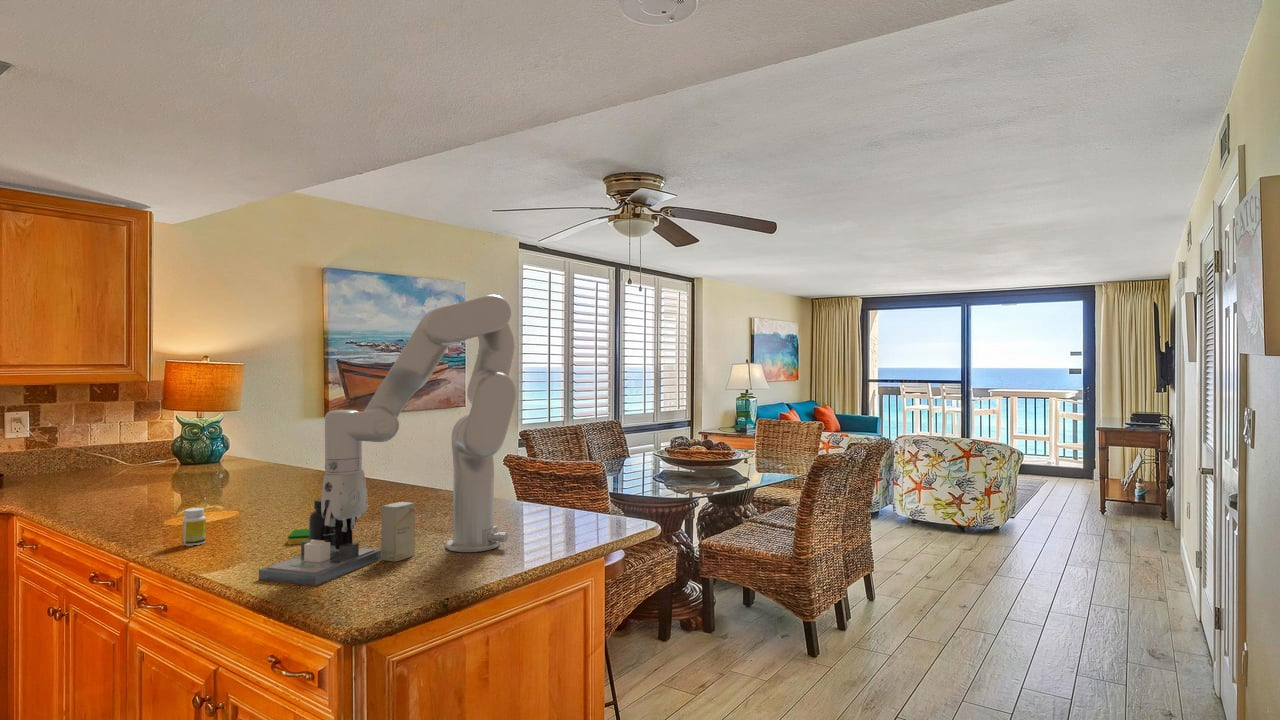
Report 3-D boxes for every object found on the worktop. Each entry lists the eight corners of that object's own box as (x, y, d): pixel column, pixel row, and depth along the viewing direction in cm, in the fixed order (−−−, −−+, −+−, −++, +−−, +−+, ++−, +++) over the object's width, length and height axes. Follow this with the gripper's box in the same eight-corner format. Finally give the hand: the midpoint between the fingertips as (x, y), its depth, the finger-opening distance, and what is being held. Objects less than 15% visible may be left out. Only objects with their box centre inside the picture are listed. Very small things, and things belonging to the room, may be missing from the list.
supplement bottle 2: (328, 555, 158) (328, 503, 159) (302, 554, 160) (302, 501, 160) (347, 548, 165) (347, 497, 165) (321, 546, 167) (321, 496, 167)
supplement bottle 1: (210, 542, 170) (210, 508, 170) (190, 547, 166) (190, 512, 166) (197, 540, 172) (197, 506, 172) (178, 545, 168) (178, 510, 168)
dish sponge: (348, 542, 172) (348, 533, 172) (287, 546, 169) (287, 536, 169) (352, 535, 179) (352, 526, 179) (294, 539, 175) (294, 529, 175)
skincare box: (395, 562, 153) (395, 507, 153) (380, 560, 155) (380, 505, 155) (415, 555, 159) (415, 502, 159) (400, 553, 161) (401, 500, 161)
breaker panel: (381, 559, 156) (381, 536, 156) (315, 586, 137) (315, 560, 137) (329, 554, 160) (329, 531, 160) (258, 579, 141) (258, 554, 141)
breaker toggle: (330, 558, 147) (330, 539, 147) (319, 562, 145) (319, 542, 145) (314, 557, 149) (314, 538, 149) (304, 561, 146) (304, 541, 146)
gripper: (334, 471, 146) (334, 558, 146) (379, 461, 160) (379, 541, 160) (304, 470, 148) (305, 556, 148) (351, 460, 162) (352, 539, 162)
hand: (344, 548), depth 154 cm, fingers closed
